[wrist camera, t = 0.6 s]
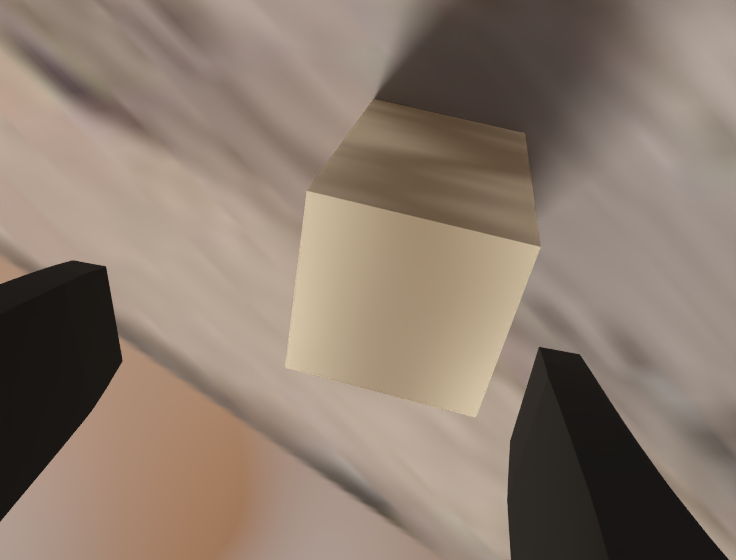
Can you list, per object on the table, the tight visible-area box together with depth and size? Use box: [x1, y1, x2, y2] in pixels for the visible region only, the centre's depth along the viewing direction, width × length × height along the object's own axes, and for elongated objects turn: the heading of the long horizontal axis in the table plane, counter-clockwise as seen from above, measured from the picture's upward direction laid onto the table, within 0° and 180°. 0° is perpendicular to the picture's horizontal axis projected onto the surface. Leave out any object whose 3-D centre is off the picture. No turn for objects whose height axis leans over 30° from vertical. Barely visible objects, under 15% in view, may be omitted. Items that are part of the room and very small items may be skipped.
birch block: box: [285, 99, 541, 418], centre depth 15 cm, size 4×4×7 cm
